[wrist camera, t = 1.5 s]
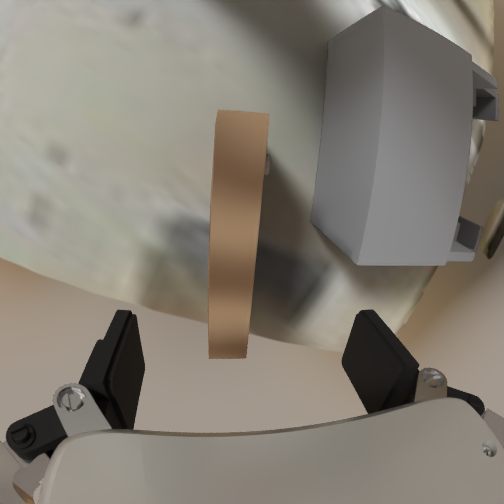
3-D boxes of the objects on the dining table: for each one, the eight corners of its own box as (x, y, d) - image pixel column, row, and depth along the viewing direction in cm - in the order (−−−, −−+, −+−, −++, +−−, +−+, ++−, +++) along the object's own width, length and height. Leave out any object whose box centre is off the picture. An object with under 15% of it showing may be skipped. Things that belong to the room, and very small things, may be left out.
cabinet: (328, 35, 22) (382, -2, 12) (467, 93, 26) (527, 96, 16) (309, 228, 30) (354, 275, 20) (448, 238, 34) (501, 271, 24)
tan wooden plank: (215, 121, 25) (218, 109, 15) (259, 124, 26) (289, 116, 16) (207, 290, 32) (208, 358, 22) (245, 291, 32) (260, 357, 22)
